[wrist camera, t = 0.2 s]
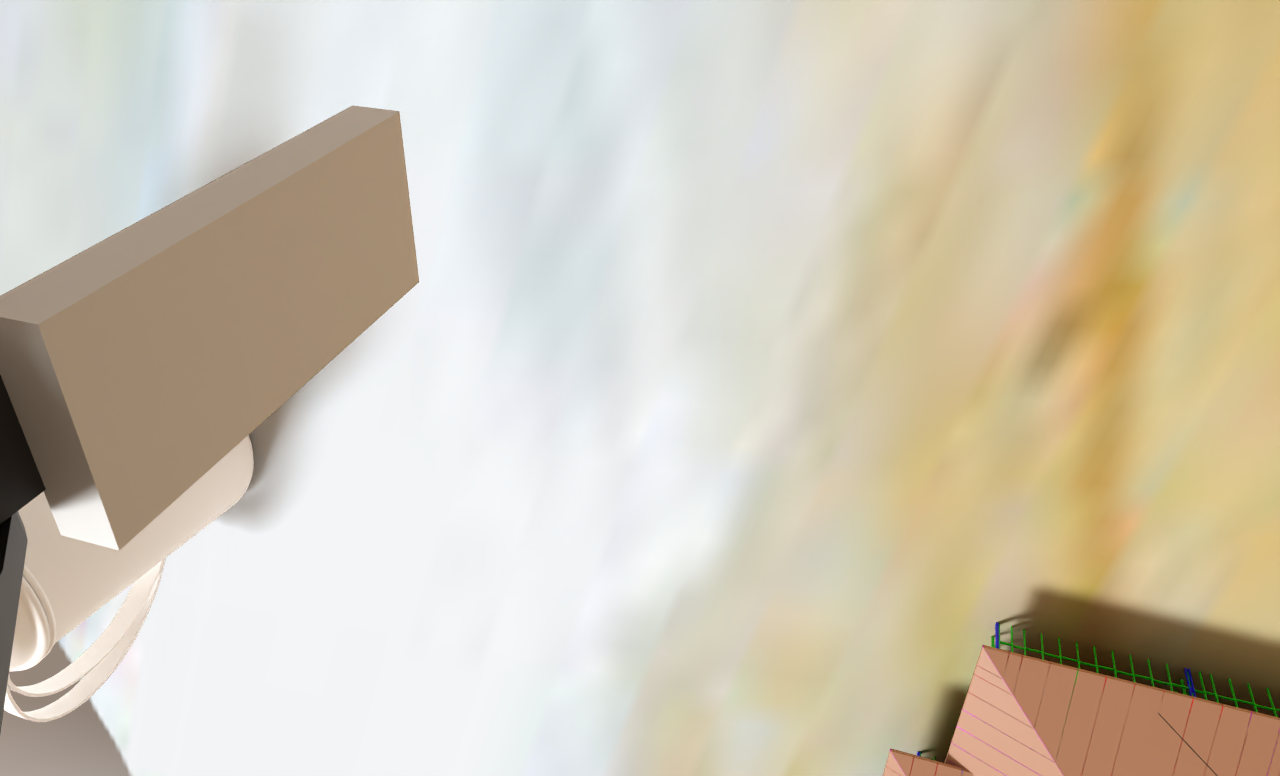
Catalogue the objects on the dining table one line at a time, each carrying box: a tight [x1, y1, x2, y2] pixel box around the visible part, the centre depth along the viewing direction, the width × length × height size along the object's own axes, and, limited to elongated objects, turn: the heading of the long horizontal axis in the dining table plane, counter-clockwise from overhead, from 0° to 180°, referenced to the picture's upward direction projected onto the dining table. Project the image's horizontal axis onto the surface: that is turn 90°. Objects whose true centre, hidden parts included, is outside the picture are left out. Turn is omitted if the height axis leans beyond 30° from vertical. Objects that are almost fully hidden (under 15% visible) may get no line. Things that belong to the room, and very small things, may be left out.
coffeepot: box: [4, 435, 254, 722], centre depth 51 cm, size 11×25×19 cm, turn 173°
